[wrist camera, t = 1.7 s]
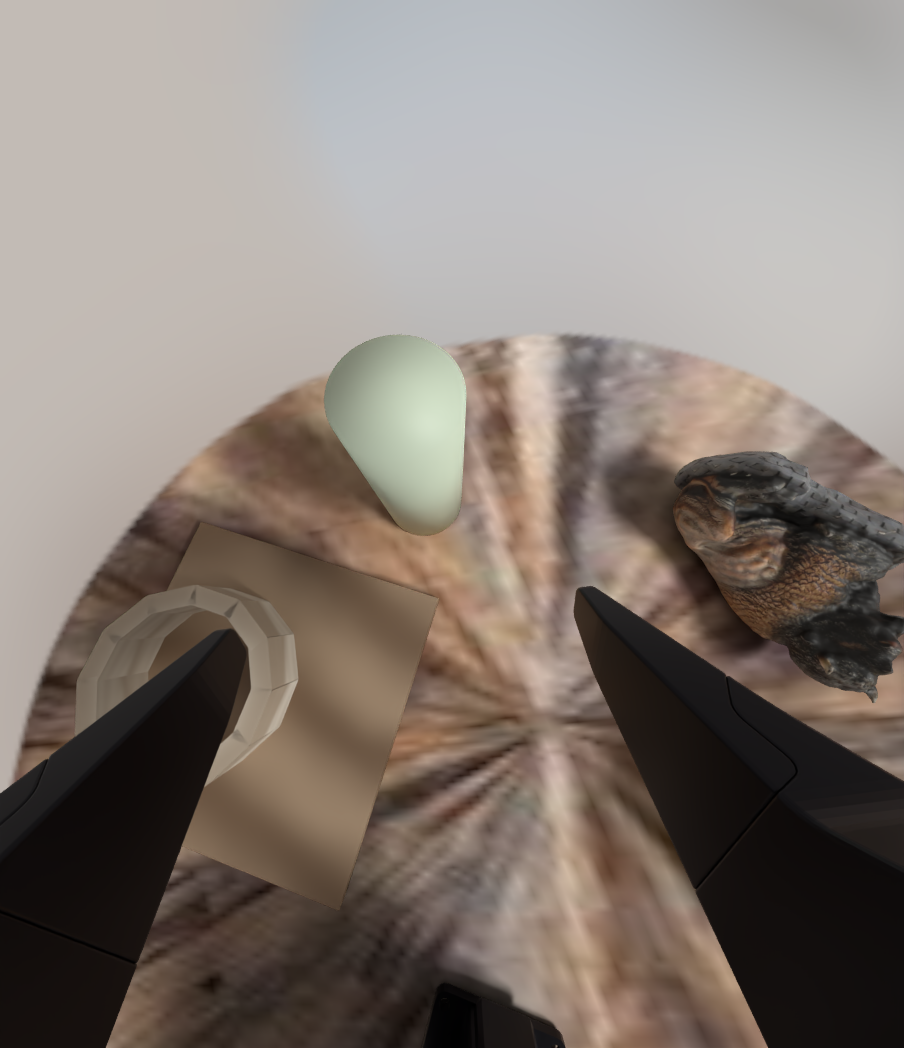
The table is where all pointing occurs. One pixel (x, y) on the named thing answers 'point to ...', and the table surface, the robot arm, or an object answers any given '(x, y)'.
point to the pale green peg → (403, 426)
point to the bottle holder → (279, 700)
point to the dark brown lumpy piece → (796, 562)
